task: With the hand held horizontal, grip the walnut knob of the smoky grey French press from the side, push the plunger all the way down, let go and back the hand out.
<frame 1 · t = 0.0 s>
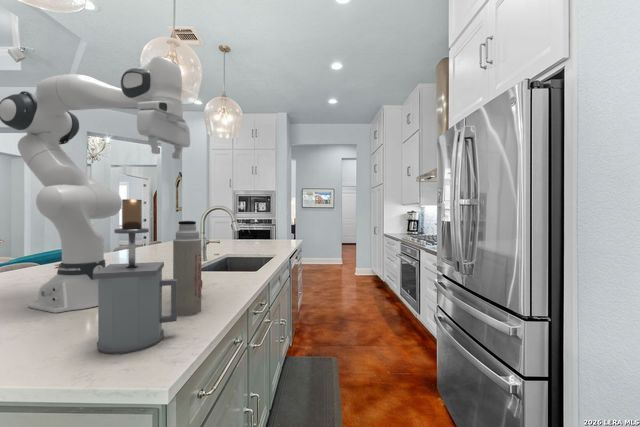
hand: (166, 156, 97), 48 cm above the counter, tool pointing down, fingers open, 8 cm apart
plunger: (131, 239, 74), point 24 cm above the counter, slide at 0.0 cm
press carafe: (131, 341, 75), on the counter
fruit: (187, 299, 109), on the counter
thermos bottle: (187, 312, 96), on the counter
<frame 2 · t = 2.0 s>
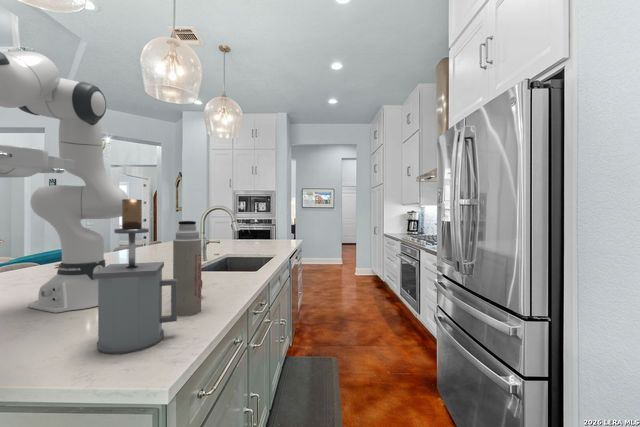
hand: (68, 167, 65), 40 cm above the counter, tool horizontal, fingers open, 8 cm apart
nothing on the counter moved.
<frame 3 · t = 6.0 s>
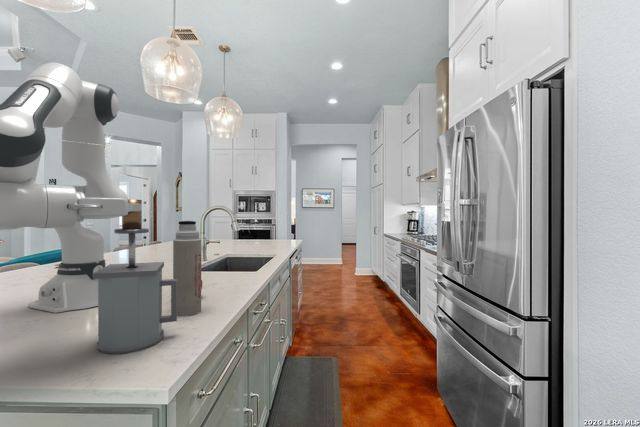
hand: (136, 207, 75), 32 cm above the counter, tool horizontal, fingers closed on plunger, 4 cm apart
plunger: (131, 239, 74), point 24 cm above the counter, slide at 0.0 cm, touching gripper
everything else where it was.
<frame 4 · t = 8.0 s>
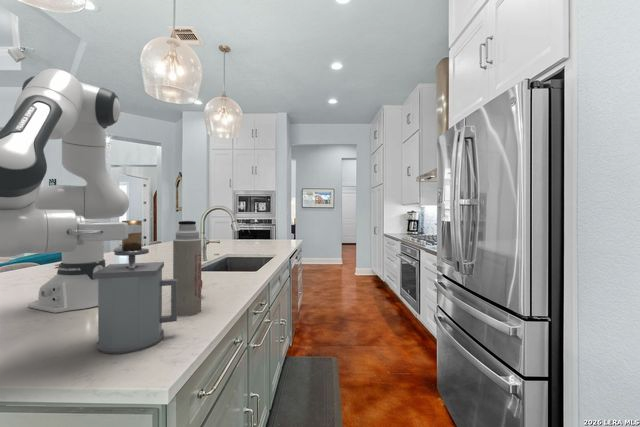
hand: (136, 228, 75), 27 cm above the counter, tool horizontal, fingers closed on plunger, 4 cm apart
plunger: (131, 260, 74), point 19 cm above the counter, slide at 5.0 cm, touching gripper
everything else where it was.
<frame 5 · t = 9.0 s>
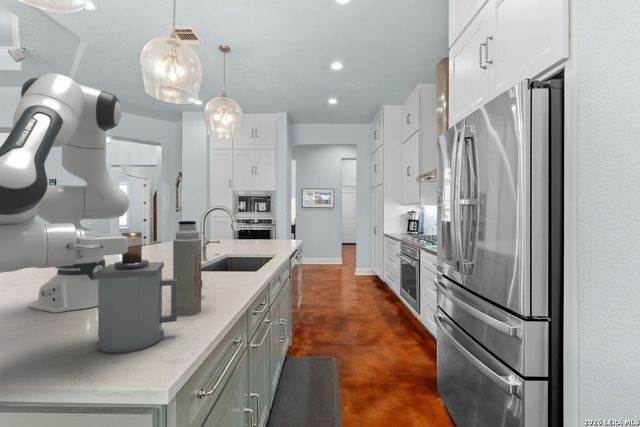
hand: (136, 240, 75), 24 cm above the counter, tool horizontal, fingers closed on plunger, 4 cm apart
plunger: (131, 272, 74), point 16 cm above the counter, slide at 7.9 cm, touching gripper
everything else where it was.
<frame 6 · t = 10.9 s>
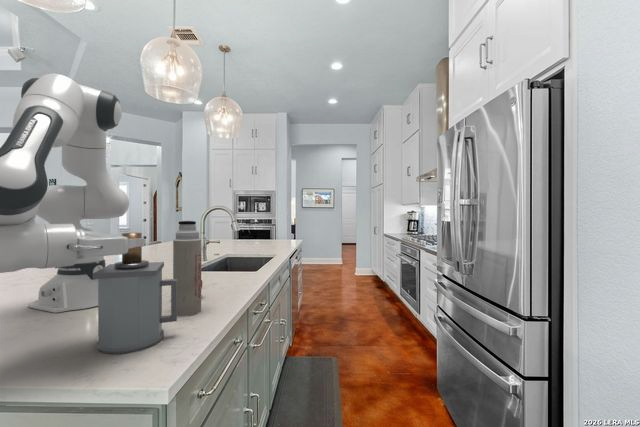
hand: (136, 240, 75), 24 cm above the counter, tool horizontal, fingers open, 8 cm apart
plunger: (131, 272, 74), point 16 cm above the counter, slide at 8.0 cm
everything else where it was.
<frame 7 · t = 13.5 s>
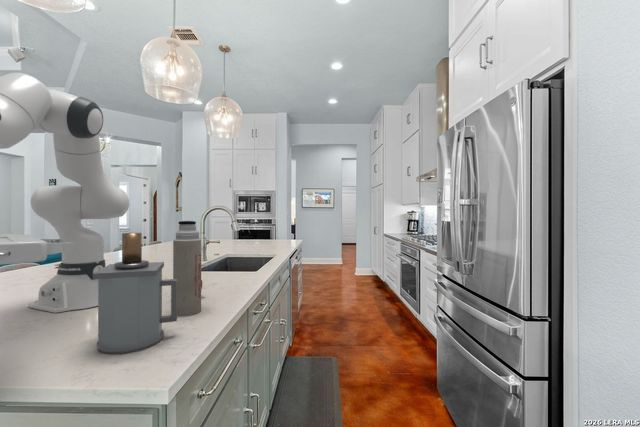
hand: (68, 244, 65), 24 cm above the counter, tool horizontal, fingers open, 8 cm apart
nothing on the counter moved.
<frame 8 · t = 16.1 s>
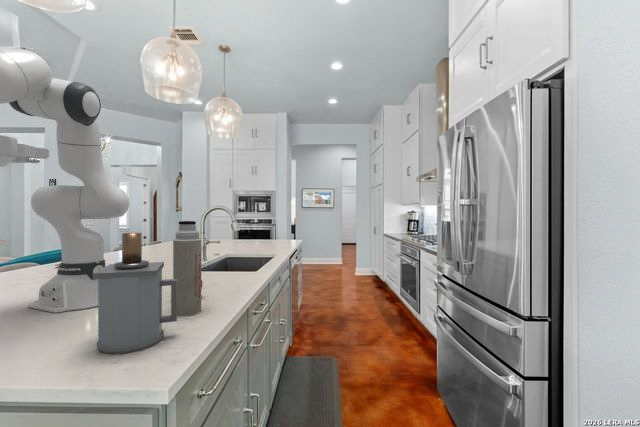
hand: (43, 156, 63), 42 cm above the counter, tool horizontal, fingers open, 8 cm apart
nothing on the counter moved.
at the end: plunger slide at 8.0 cm; the gripper is holding nothing; thermos bottle moved 0.2 cm from its start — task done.
